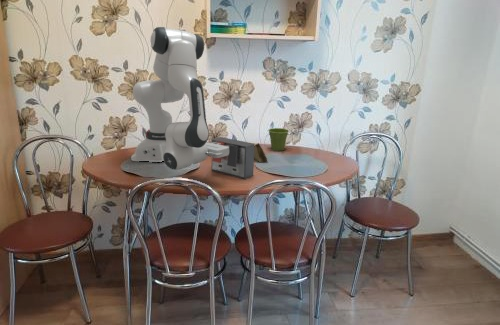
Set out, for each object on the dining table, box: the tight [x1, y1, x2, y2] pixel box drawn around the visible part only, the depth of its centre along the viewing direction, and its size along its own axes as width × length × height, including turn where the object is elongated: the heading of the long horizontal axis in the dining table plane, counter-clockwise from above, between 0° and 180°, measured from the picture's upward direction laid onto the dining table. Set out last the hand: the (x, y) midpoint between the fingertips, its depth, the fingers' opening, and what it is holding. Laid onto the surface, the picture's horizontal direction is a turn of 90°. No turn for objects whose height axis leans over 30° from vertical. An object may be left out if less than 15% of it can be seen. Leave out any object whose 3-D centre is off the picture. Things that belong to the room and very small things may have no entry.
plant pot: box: [267, 127, 290, 152], centre depth 203 cm, size 12×12×11 cm
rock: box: [254, 142, 269, 163], centre depth 184 cm, size 11×9×10 cm
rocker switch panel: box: [211, 136, 255, 180], centre depth 161 cm, size 7×19×15 cm, turn 57°
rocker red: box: [211, 141, 225, 163], centre depth 159 cm, size 2×4×9 cm, turn 57°
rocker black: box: [227, 145, 239, 167], centre depth 155 cm, size 2×4×9 cm, turn 56°
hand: (218, 144), depth 158 cm, fingers closed, pressing on rocker red
